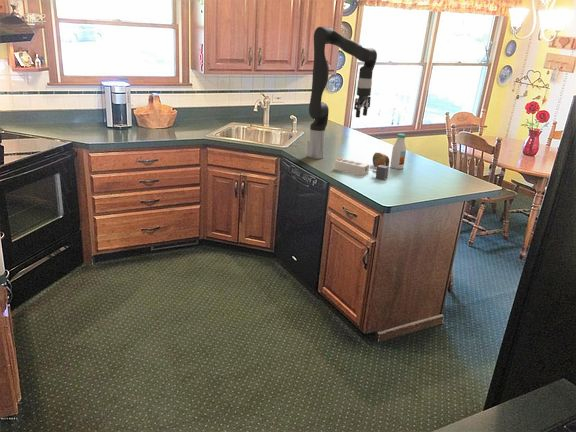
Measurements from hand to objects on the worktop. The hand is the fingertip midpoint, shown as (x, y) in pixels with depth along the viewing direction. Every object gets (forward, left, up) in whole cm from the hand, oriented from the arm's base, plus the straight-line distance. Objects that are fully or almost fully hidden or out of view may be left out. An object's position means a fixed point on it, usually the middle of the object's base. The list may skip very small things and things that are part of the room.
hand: (361, 116), depth 278 cm
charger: (+18, -7, -30) cm, 36 cm away
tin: (+10, +12, -30) cm, 34 cm away
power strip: (+1, -7, -30) cm, 31 cm away
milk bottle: (+17, +20, -30) cm, 40 cm away
